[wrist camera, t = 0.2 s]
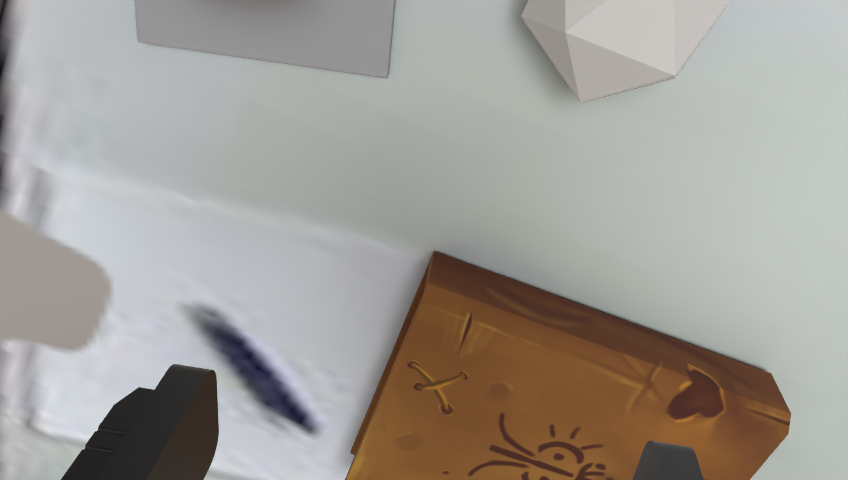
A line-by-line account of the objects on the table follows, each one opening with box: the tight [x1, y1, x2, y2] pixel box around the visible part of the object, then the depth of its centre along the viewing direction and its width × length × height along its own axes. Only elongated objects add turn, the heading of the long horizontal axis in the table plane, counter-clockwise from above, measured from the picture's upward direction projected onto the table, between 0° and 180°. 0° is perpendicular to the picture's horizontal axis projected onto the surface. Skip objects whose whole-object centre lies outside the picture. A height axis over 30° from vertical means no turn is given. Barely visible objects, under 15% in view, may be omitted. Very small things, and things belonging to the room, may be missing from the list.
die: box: [521, 0, 731, 103], centre depth 33 cm, size 8×9×10 cm
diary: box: [345, 251, 791, 480], centre depth 47 cm, size 23×19×6 cm
